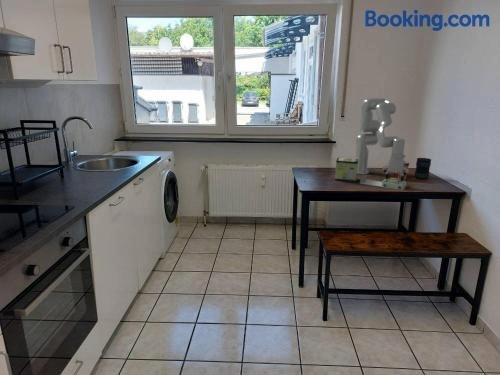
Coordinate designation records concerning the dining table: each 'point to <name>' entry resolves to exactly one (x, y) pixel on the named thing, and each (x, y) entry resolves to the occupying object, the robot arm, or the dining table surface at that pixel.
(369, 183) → the track
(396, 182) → the beige square block
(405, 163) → the mug
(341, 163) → the protein box
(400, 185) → the cart
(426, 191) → the dining table surface
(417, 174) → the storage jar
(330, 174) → the dining table surface
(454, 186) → the dining table surface
